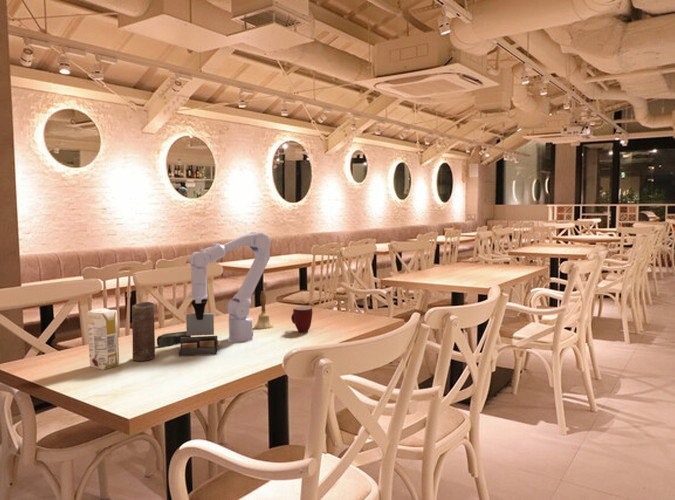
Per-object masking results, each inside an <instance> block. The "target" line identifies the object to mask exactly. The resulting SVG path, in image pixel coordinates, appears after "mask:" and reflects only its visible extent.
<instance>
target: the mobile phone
mask: <svg viewBox="0 0 675 500" xmlns="http://www.w3.org/2000/svg"><path fill="white" fill-rule="evenodd" d="M181 337H192V336H187V330H185V331H183V330H182V331H176V332H168V333H163V334H161V335H158V336H157V338H156V345H157V346H155V349H157V348H164V347H169V346H174V345H175V346H176V345H181Z"/></svg>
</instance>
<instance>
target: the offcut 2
mask: <svg viewBox="0 0 675 500" xmlns="http://www.w3.org/2000/svg"><path fill="white" fill-rule="evenodd" d="M202 347H214V340H213V341H200V348H202Z"/></svg>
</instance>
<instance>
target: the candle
mask: <svg viewBox="0 0 675 500" xmlns="http://www.w3.org/2000/svg"><path fill="white" fill-rule="evenodd" d="M131 312H132V313H131V320H132V321H131V323H132V324H131V328H132V331H131V333H132V361H136V362H142V363H143V362H148V360H152V359H154V358H155V357H156V337H155V303H154V302H151V301H142V302H138V303H135V304H133V305H132V306H131Z"/></svg>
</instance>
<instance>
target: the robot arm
mask: <svg viewBox="0 0 675 500" xmlns="http://www.w3.org/2000/svg"><path fill="white" fill-rule="evenodd" d="M271 245H272V241H271V239H270V237H269V235H268V234H267V233H266V232H256V231H251V232H249V233H245V234H243V235H240V236H239V237H236V238H234V239H232V240H230V241H228V242H227V243H224V244H221V243H212V244H211V246H209V247H206V248H201V249H200V251H194V252H192V253H191V254H190V255H189V259H188V263H189V265H190V267H191V268H190V270H191V271H190V281H191V282H190V283H191V294H188V298H190V299H192V300H191V302H190V303H191V305H192V307H193V309H194V314H196V319H197V320H203V315H204V313H205V309H206V305H207V302H208V300H209V299H208V277H207V276H208V274H207V273H208V271H207V266H208V265H209V264H211V263H213V262H216V261H218V260H221V259H223V258H225V255H226V253H228V252H231V251H234V250H237V249H239V248H242V247H244V246H246V247H247V246H248V247H249V248H250V249H251V251H252V252H253V254H254V259H253V261H252V264H251V266H250V268H249V270H248V271H247V274H246V276H245V278H244V279H243V282H242V284H241V285H240V288H239V289H238V291H237V292H236V294H235V295H233V297H232V298H231V299H230V301H228V302H227V304H226V306H225V308H226V309H225V310H226V312H227V314H228V339H227V342H229V343H231V342H248V341H249V342H252V341H254V340H253V336H254V331H253V317H248V316H249V314H250V307H251V305H252V299H251V298H252V295H253V293H254V292H255V289H256V288H257V285H258V284H259V281H260V280H261V278H262V275H263V273H264V271H265V268H266V267H267V265H268V263H269V261H270V257H271Z"/></svg>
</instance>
